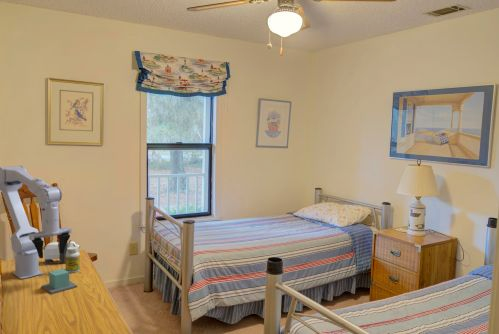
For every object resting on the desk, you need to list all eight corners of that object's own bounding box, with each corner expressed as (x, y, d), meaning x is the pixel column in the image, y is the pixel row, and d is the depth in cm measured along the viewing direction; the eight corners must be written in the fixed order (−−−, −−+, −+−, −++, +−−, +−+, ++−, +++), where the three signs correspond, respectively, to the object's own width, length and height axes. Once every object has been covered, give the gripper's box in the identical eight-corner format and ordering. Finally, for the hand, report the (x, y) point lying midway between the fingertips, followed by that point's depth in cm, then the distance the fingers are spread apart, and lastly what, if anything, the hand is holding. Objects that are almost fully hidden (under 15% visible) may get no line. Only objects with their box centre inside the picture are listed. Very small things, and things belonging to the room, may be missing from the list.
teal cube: (49, 285, 144) (49, 272, 144) (63, 281, 148) (62, 268, 148) (55, 289, 141) (55, 275, 141) (69, 285, 145) (69, 272, 144)
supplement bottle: (78, 267, 165) (78, 245, 164) (81, 271, 161) (81, 248, 160) (64, 269, 162) (64, 247, 161) (66, 274, 158) (66, 250, 157)
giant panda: (41, 265, 167) (41, 243, 166) (45, 261, 172) (44, 239, 171) (79, 263, 171) (78, 241, 170) (81, 259, 176) (80, 238, 175)
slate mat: (41, 287, 144) (41, 285, 144) (66, 280, 151) (66, 278, 151) (51, 294, 138) (51, 292, 138) (77, 287, 145) (77, 285, 145)
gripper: (33, 224, 139) (35, 262, 140) (74, 218, 150) (75, 253, 151) (26, 221, 144) (27, 257, 145) (66, 215, 154) (67, 249, 156)
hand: (51, 255), depth 148 cm, fingers open, 7 cm apart
